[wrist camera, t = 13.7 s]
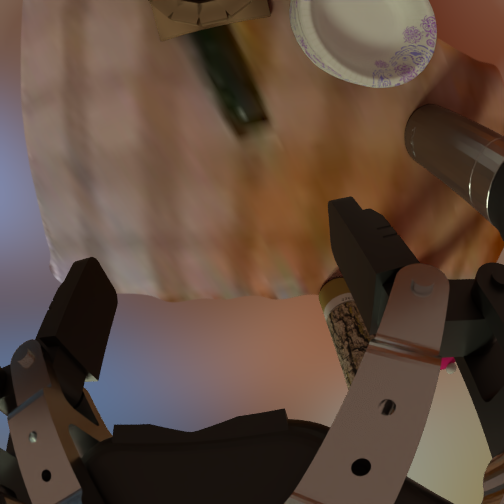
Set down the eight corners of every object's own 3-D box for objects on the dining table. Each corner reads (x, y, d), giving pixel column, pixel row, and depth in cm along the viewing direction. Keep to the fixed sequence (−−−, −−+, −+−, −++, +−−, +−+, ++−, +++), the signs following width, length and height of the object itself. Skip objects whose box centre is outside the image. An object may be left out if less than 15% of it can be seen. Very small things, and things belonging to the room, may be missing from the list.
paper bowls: (307, -52, 21) (328, -73, 15) (415, 6, 25) (453, 3, 19) (264, 51, 29) (276, 50, 23) (377, 99, 33) (410, 113, 27)
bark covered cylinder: (320, 276, 49) (371, 418, 29) (359, 274, 50) (420, 405, 30) (314, 306, 53) (354, 438, 33) (350, 302, 54) (399, 427, 34)
